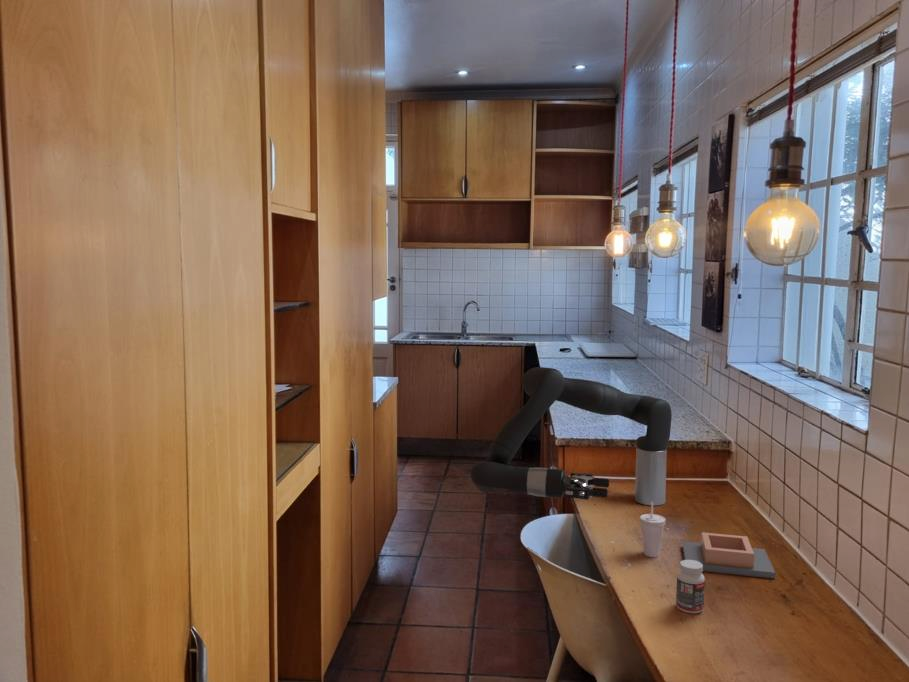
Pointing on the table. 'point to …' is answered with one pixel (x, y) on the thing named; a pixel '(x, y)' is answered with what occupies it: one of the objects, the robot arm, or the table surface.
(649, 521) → the smoothie
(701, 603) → the pill bottle
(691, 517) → the table surface
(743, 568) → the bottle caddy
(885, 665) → the table surface
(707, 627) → the table surface
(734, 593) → the table surface
